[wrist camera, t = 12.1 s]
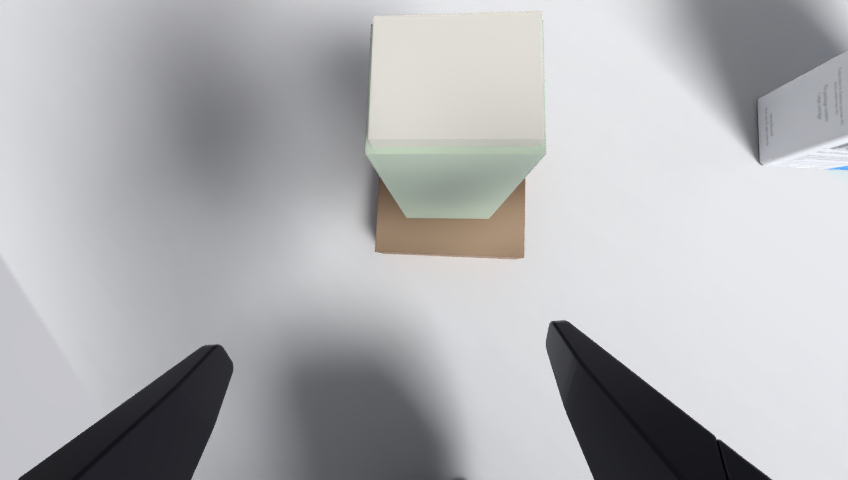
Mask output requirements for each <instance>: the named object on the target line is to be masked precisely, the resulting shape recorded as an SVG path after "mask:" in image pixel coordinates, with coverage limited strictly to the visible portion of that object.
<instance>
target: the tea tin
mask: <svg viewBox="0 0 848 480" xmlns="http://www.w3.org/2000/svg"><path fill="white" fill-rule="evenodd" d="M545 154H546V134H545V86H544V38H543V20H542V11H526V12H492V13H458V14H425V15H391V16H374V20H373V24H371V38H370V60H369V81H368V103H367V125H366V146H365V155H366V156H367V158H368V159H369V161H370V162H371V164H372V165H373V167H374V168H375V170H376V172H377V173H378V175H379V176H380V178H381V179H382V181H383V182H384V184H385V185H386V187H387V189H388V190H389V192H390V193H391V195H392V196H393V198H394V199H395V201H396V202H397V204H398V205H399V207H400V209H401V210H402V212H403V213H404V215H405V216H406V218H448V219H489V218H490V217H491V216H492V215H493V214H494V212H495V211H496V210H497V209H498V208H499V207H500V206H501V204H502V203H503V202H504V201H505V200H506V199H507V198H508V197H509V195H510V194H511V193H512V192H513V191H514V190H515V189H516V187H517V186H518V185H519V184H520V183H521V182H522V181H523V179H524V178H525V177H526V176H527V175H528V174H529V173H530V171H531V170H532V169H533V168H534V167H535V166H536V165H537V163H538V162H539V161H540V160H541V159H542V158H543V157H544V155H545Z"/></svg>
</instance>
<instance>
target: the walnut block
mask: <svg viewBox="0 0 848 480" xmlns="http://www.w3.org/2000/svg"><path fill="white" fill-rule="evenodd" d="M524 227H525V178H524V179H523V181H522V182H521V183H520V184H519V185H518V186H517V187H516V189H515V190H514V191H513V192H512V193H511V194H510V195H509V197H508V198H507V199H506V200H505V201H504V202H503V203H502V204H501V206H500V207H499V208H498V209H497V210H496V211H495V212H494V214H493V215H492V216H491V217H490V218H489V219H448V218H406V216H405V215H404V213H403V212H402V210H401V209H400V207H399V205H398V204H397V202H396V201H395V199H394V198H393V196H392V195H391V193H390V192H389V190H388V189H387V187H386V185H385V184H384V182H383V181H382V179H381V178H379V195H378V211H377V227H376V243H375V252H379V253H383V254H406V255H429V256H452V257H475V258H498V259H519V258H524Z"/></svg>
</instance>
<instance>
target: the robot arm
mask: <svg viewBox="0 0 848 480" xmlns="http://www.w3.org/2000/svg"><path fill="white" fill-rule="evenodd" d="M546 349H547V353H548V356H549V359H550V363H551V366H552V369H553V373H554V376H555V379H556V383H557V386H558V389H559V392H560V396H561V399H562V402H563V405H564V408H565V411H566V413H567V416H568V418H569V421H570V423H571V425H572V428H573V430H574V432H575V435H576V437H577V440H578V442H579V444H580V447H581V449H582V452H583V454H584V456H585V459H586V461H587V463H588V466H589V468H590V471H591V473H592V475H593V478H594V480H772V479H771V478H769V477H768V476H767V475H765V474H764V473H763V472H761V471H760V470H759V469H757V468H756V467H755V466H753V465H752V464H751V463H750V462H748V461H747V460H746V459H744V458H743V457H742V456H740V455H739V454H738V453H736V452H735V451H734V450H733V449H731V448H730V447H729V446H727V445H726V444H725V443H724V442H722V441H721V440H718V439H716V437H715V436H714V435H713V434H712V433H711V432H709V431H708V430H707V429H705V428H704V427H703V426H702V425H700V424H699V423H698V422H696V421H695V420H694V419H693V418H691V417H690V416H689V415H688V414H686V413H685V412H684V411H682V410H681V409H680V408H679V407H677V406H676V405H675V404H673V403H672V402H671V401H670V400H668V399H667V398H666V397H664V396H663V395H662V394H661V393H659V392H658V391H657V390H655V389H654V388H653V387H652V386H650V385H649V384H648V383H646V382H645V381H644V380H643V379H641V378H640V377H639V376H637V375H636V374H635V373H634V372H632V371H631V370H630V369H629V368H627V367H626V366H625V365H623V364H622V363H621V362H620V361H618V360H617V359H616V358H614V357H613V356H612V355H611V354H609V353H608V352H607V351H605V350H604V349H603V348H602V347H600V346H599V345H598V344H596V343H595V342H594V341H593V340H591V339H590V338H589V337H587V336H586V335H585V334H584V333H582V332H581V331H580V330H578V329H577V328H576V327H575V326H573V325H572V324H571V323H569V322H568V321H565V320H561V321H552V322H550V324H549V328H548V333H547V339H546ZM232 373H233V362H232V361H231V359H230V357H229V356H228V354H227V353H226V351H225V350H224V348H223V347H222V346H221V345H219V344H215V345H205V346H202V347H201V348H199V349H198V350H196V351H195V352H194V353H192V354H191V355H189V356H188V357H187V358H185V359H184V360H182V361H181V362H180V363H178V364H177V365H176V366H174V367H173V368H171V369H170V370H169V371H167V372H166V373H164V374H163V375H162V376H160V377H159V378H157V379H156V380H155V381H153V382H152V383H151V384H149V385H148V386H146V387H145V388H144V389H142V390H141V391H139V392H138V393H137V394H135V395H134V396H132V397H131V398H130V399H128V400H127V401H126V402H124V403H123V404H121V405H120V406H119V407H117V408H116V409H114V410H113V411H112V412H110V413H109V414H107V415H106V416H105V417H103V418H102V419H101V420H99V421H98V422H96V423H95V424H94V425H92V426H91V427H89V428H88V429H87V430H85V431H84V432H82V433H81V434H80V435H78V436H77V437H76V438H74V439H73V440H71V441H70V442H69V443H67V444H66V445H64V446H63V447H62V448H60V449H59V450H57V451H56V452H55V453H53V454H52V455H51V456H49V457H48V458H46V459H45V460H44V461H42V462H41V463H39V464H38V465H37V466H35V467H34V468H33V469H31V470H30V471H28V472H27V473H26V474H24V475H23V476H21V477H20V478H19V479H18V480H191V478H192V476H193V474H194V471H195V469H196V467H197V465H198V462H199V460H200V458H201V456H202V453H203V451H204V449H205V447H206V444H207V442H208V440H209V438H210V435H211V433H212V430H213V428H214V425H215V422H216V420H217V417H218V414H219V411H220V408H221V405H222V402H223V399H224V396H225V393H226V390H227V387H228V385H229V382H230V379H231V376H232Z"/></svg>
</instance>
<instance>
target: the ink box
mask: <svg viewBox="0 0 848 480" xmlns="http://www.w3.org/2000/svg"><path fill="white" fill-rule="evenodd" d="M758 127H759V154H760V163H761V164H762V165H764V166H776V167H796V168H818V169H840V170H848V50H847V51H845V52H843V53H842V54H840V55H838V56H836V57H834V58H832V59H830V60H829V61H827V62H825V63H823V64H821V65H820V66H818V67H816V68H814V69H812V70H810V71H809V72H807V73H805V74H803V75H801V76H799V77H797V78H795V79H793V80H792V81H790V82H788V83H786V84H784V85H782V86H781V87H779V88H777V89H775V90H773V91H771V92H770V93H768V94H766V95H764V96H762V97H760V98H759V99H758Z"/></svg>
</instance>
